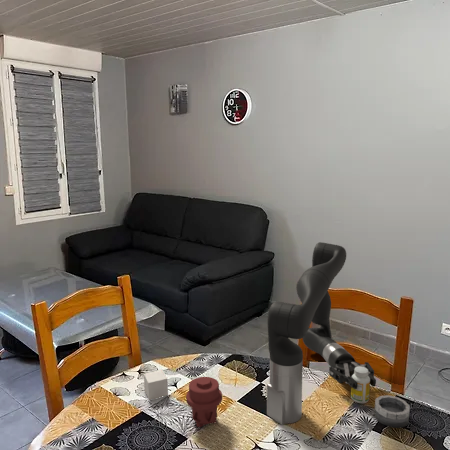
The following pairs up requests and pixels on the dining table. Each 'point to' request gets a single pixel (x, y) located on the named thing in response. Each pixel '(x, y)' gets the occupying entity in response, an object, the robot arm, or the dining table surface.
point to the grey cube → (155, 384)
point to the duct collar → (392, 411)
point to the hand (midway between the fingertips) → (365, 384)
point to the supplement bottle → (361, 385)
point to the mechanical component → (204, 400)
